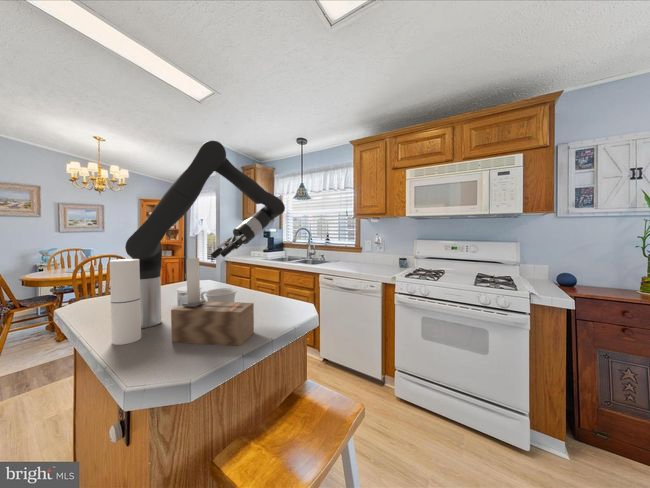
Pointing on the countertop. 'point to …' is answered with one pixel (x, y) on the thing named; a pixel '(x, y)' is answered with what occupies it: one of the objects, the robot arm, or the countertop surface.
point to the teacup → (219, 295)
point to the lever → (193, 283)
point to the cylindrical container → (125, 301)
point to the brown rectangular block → (213, 323)
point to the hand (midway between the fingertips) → (216, 255)
